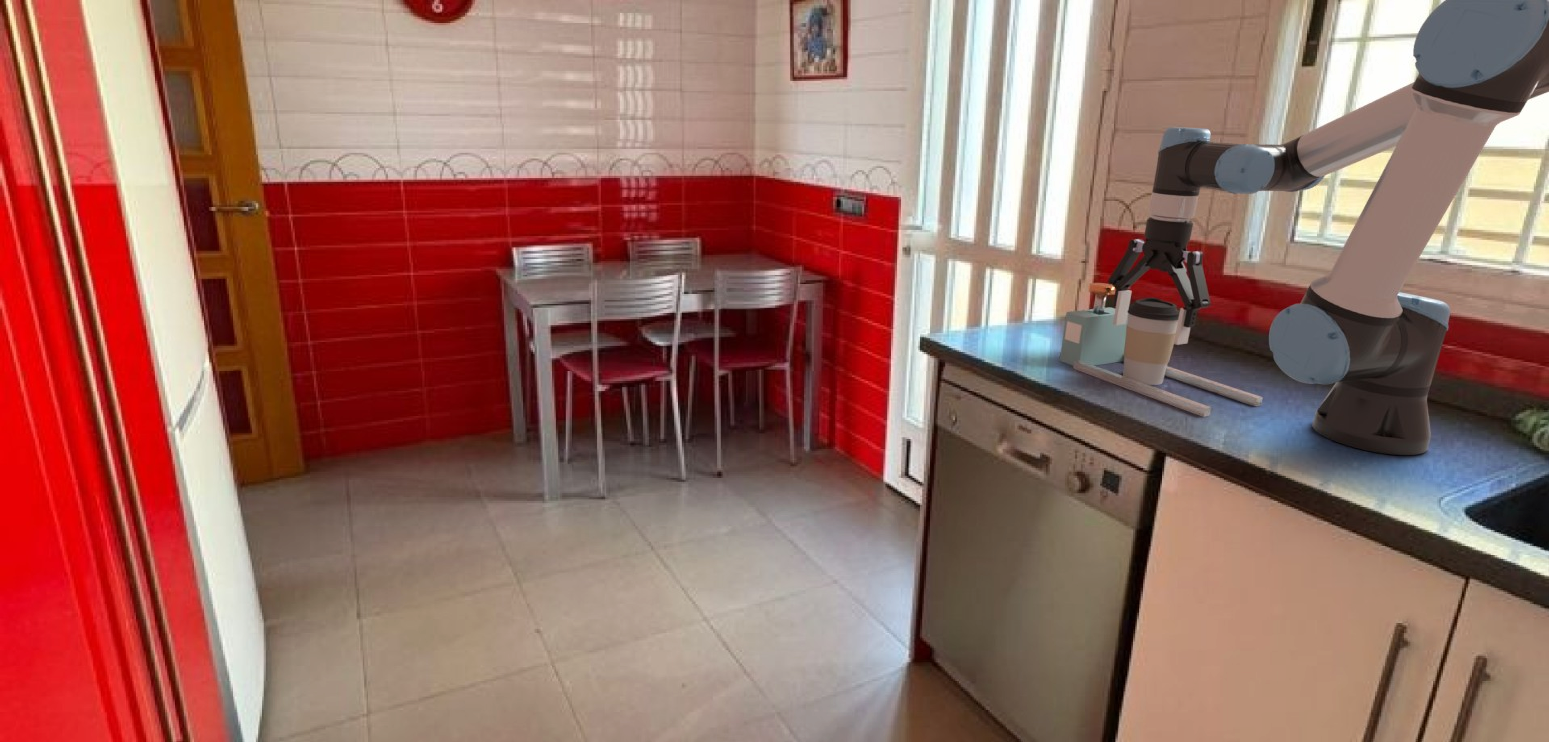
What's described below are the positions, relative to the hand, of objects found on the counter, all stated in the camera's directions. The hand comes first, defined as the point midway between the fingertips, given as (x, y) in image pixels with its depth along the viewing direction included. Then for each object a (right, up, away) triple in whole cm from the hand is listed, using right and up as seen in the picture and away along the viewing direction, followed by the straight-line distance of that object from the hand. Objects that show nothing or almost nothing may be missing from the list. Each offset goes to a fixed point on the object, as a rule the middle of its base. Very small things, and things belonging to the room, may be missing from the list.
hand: (1148, 333), depth 155 cm
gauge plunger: (-6, +4, +10) cm, 12 cm away
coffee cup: (0, -9, +2) cm, 9 cm away
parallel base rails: (+2, -10, -1) cm, 10 cm away
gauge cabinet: (-6, -5, +13) cm, 15 cm away
